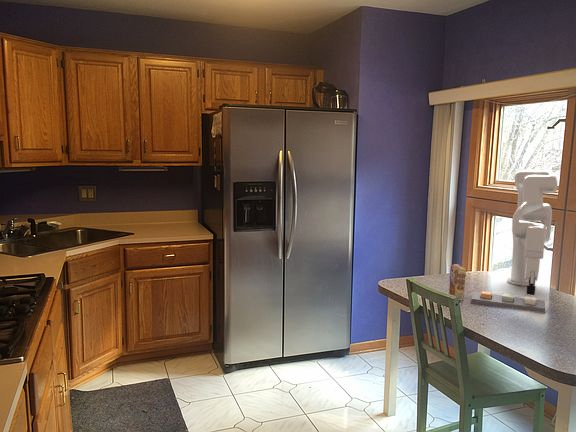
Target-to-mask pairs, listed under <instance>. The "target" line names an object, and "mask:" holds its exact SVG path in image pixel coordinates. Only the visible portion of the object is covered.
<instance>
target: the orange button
mask: <svg viewBox="0 0 576 432" xmlns="http://www.w3.org/2000/svg"><path fill="white" fill-rule="evenodd" d="M492 294H493V292H492V291H486V290H485V291H484V290H482V291H481V298H487V299H491V298H492Z"/></svg>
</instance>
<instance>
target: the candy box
mask: <svg viewBox="0 0 576 432" xmlns="http://www.w3.org/2000/svg"><path fill="white" fill-rule="evenodd" d="M449 270H450V271H449V285H448V295H449V294H451V295H454V296H456V297H458V298H459V300H460V302H461V301H464V300H465V299H464V297H465V289H466V288H465V285H466V274H467V269H466V268H465V267H463V266H461V265H460V264H455V263H454V264H450V269H449Z"/></svg>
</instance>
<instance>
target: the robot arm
mask: <svg viewBox="0 0 576 432" xmlns="http://www.w3.org/2000/svg"><path fill="white" fill-rule="evenodd" d="M514 184H515V188H516V190H517V205H516V206H517V207H516V210H515V212H514V213H513V216H512V218H511V219H512V220H511V221H512V222H511V223H512V224H511V233H512V234H511V235H512V257H511V258H512V259H511V269H510V270H511V271H510V272H511V273H510V277H508V278H507V283H509V284H512V285H515V286H523V287H526V295H529V296H535V295H536V282H537V281H538V278H539V273H540V272H539V271H540V263H541V261H540V260H542V259H544V252H545V250H544V249H545V244H546V243H548V242H549V241H550V239H551V231H552V220H553V219H552V218H553V210H552V207H551V205H550V204H549V203H544V196H543V195H544V194H555V193H556V191H557V189H558V179H557V176H556V174H555V173H554V172H553V171H552V170H541V169H540V170H535V169H523V170H522V169H521V170H518V171H516V172H515V173H514ZM520 221H523V222H520ZM533 222H535V223H533ZM538 222H539V223H538Z"/></svg>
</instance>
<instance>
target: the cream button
mask: <svg viewBox="0 0 576 432" xmlns="http://www.w3.org/2000/svg"><path fill="white" fill-rule="evenodd" d="M523 298H524V304H532V305H535V304H536V300H537V299H536V297H533V296H526V295H525V296H524V297H523Z"/></svg>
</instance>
